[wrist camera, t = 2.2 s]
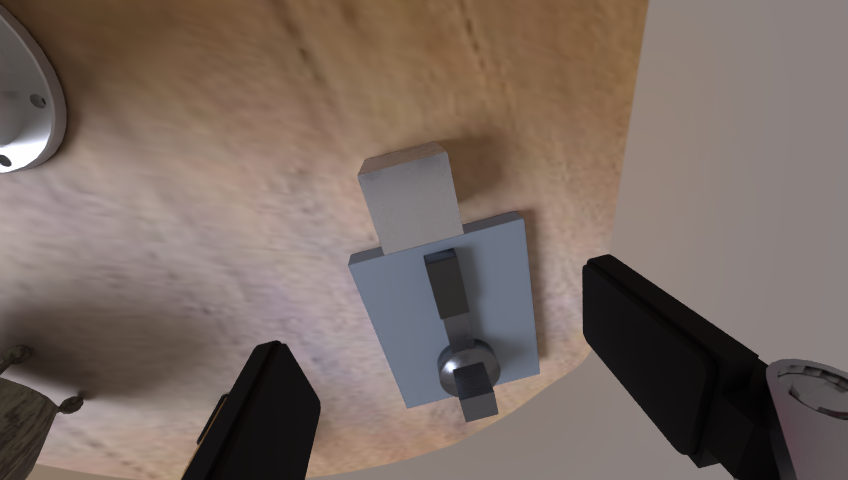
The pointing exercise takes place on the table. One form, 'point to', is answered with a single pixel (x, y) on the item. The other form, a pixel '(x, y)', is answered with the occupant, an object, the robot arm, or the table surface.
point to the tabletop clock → (24, 420)
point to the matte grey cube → (411, 197)
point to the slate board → (486, 295)
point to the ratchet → (461, 341)
